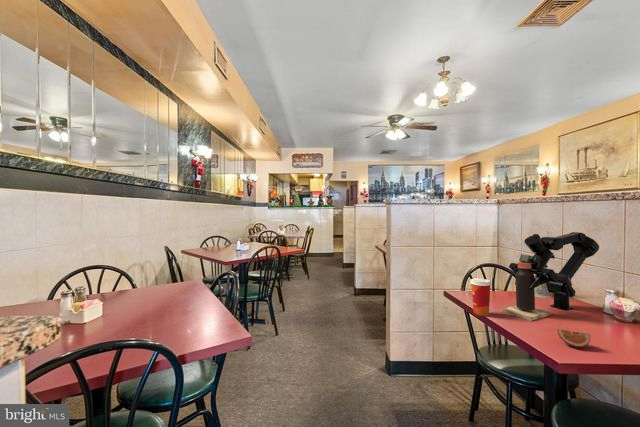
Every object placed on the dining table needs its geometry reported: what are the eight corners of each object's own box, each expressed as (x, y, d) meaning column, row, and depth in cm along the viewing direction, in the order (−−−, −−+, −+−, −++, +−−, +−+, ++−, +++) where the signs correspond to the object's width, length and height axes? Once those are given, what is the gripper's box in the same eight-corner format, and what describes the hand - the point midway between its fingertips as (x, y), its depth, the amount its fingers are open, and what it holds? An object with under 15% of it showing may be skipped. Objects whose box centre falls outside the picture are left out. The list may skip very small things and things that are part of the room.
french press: (525, 292, 160) (524, 247, 160) (547, 292, 159) (547, 247, 159) (536, 297, 151) (536, 249, 150) (560, 298, 149) (560, 249, 149)
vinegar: (513, 305, 132) (512, 261, 132) (530, 305, 131) (529, 261, 130) (520, 310, 125) (519, 264, 125) (538, 311, 124) (536, 264, 124)
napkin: (520, 307, 136) (520, 304, 136) (549, 315, 126) (549, 311, 126) (501, 312, 130) (501, 308, 130) (530, 321, 119) (530, 317, 119)
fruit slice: (558, 346, 97) (558, 331, 97) (556, 339, 103) (556, 325, 103) (592, 352, 92) (591, 337, 92) (588, 344, 98) (587, 330, 98)
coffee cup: (474, 309, 134) (473, 277, 134) (494, 313, 129) (493, 279, 129) (467, 314, 129) (467, 280, 129) (488, 318, 123) (487, 283, 123)
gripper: (511, 245, 138) (494, 271, 134) (553, 250, 120) (535, 279, 117) (523, 260, 140) (507, 286, 137) (566, 267, 123) (549, 296, 119)
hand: (522, 286), depth 127 cm, fingers closed on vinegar, 6 cm apart
